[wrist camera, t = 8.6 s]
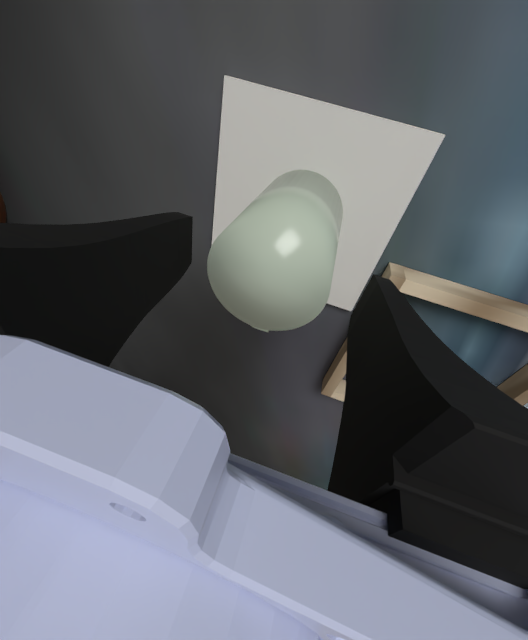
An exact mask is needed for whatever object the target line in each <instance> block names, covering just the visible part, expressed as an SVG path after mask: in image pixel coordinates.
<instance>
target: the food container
mask: <svg viewBox="0 0 528 640" xmlns="http://www.w3.org/2000/svg"><path fill="white" fill-rule="evenodd" d="M6 216H7V214H6V208H5V204H4V201H3V197H2V195H1V193H0V223H6Z"/></svg>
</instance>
